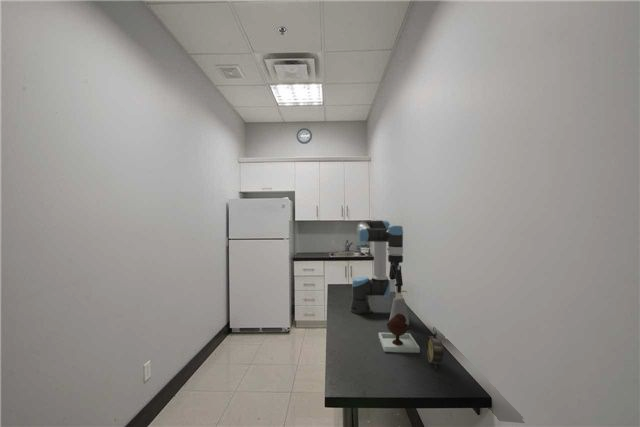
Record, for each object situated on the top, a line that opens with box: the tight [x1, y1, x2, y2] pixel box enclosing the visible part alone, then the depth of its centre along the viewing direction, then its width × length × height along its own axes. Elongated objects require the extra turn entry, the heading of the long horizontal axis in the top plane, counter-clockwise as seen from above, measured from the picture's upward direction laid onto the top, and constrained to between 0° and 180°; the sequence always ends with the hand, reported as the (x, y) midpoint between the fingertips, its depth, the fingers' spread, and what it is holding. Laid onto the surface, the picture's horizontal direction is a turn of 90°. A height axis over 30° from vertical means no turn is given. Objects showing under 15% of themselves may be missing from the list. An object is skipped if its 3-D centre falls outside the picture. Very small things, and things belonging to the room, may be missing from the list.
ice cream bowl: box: [386, 313, 410, 345], centre depth 140 cm, size 11×11×15 cm
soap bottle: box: [388, 290, 410, 325], centre depth 170 cm, size 12×12×20 cm
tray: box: [378, 332, 421, 354], centre depth 139 cm, size 17×17×2 cm
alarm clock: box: [425, 326, 445, 370], centre depth 120 cm, size 11×5×16 cm, turn 174°
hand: (395, 294), depth 142 cm, fingers open, 13 cm apart
